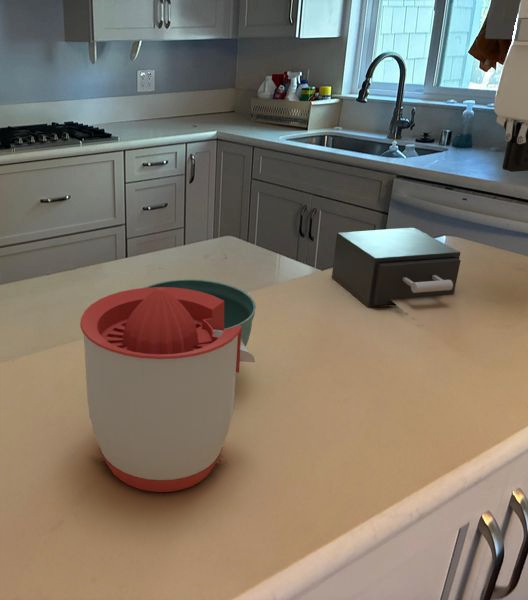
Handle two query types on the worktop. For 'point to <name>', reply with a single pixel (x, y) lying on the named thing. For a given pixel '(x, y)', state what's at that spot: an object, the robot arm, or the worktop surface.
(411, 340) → the worktop surface
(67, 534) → the worktop surface
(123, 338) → the citrus juicer
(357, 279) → the grey drawer box
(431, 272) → the mini dresser drawer
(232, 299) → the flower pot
